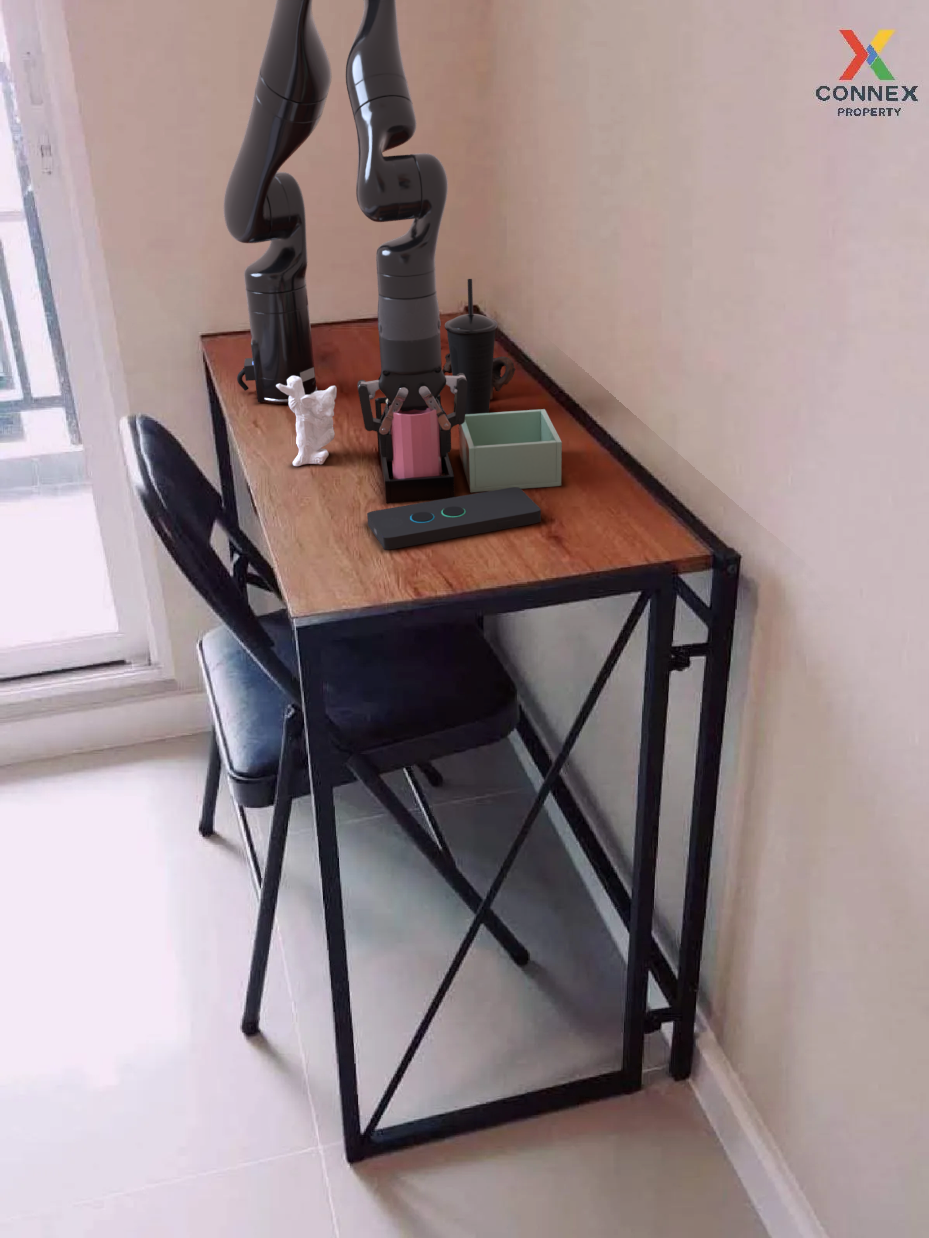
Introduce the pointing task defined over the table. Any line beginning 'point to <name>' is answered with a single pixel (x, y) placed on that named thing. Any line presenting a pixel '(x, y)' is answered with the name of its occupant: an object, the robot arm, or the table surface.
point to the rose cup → (415, 444)
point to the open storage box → (510, 450)
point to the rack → (419, 485)
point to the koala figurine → (311, 420)
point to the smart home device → (453, 517)
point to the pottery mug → (496, 371)
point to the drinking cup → (473, 354)
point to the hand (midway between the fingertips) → (416, 456)
